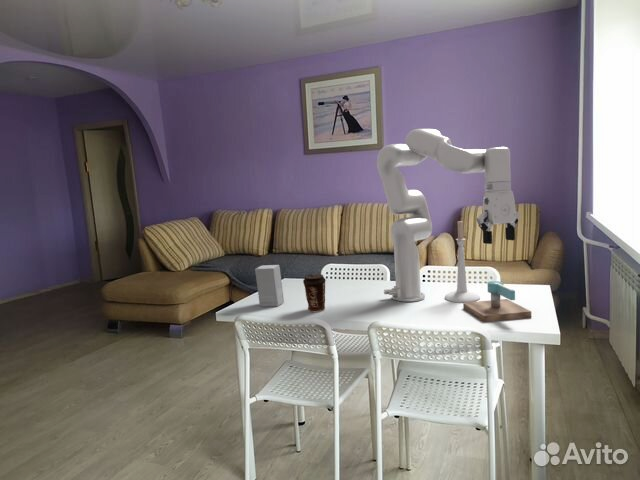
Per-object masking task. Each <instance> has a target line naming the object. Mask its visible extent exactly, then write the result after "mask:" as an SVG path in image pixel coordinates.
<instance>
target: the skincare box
mask: <svg viewBox="0 0 640 480" xmlns="http://www.w3.org/2000/svg"><path fill="white" fill-rule="evenodd" d="M280 266H281V265H280V264H269V265H266V264H265V265H260V266H257V267H256V268H255V269H254V274H255V278H256V286H257V287H256V288H257V294H258V301H259V307H279V306H281V305H282V304H283V303H284V302H285V298H284V291H283V290H284V289H283V283H282V275H281V268H280Z"/></svg>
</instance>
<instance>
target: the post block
mask: <svg viewBox="0 0 640 480" xmlns="http://www.w3.org/2000/svg"><path fill="white" fill-rule="evenodd" d="M462 304H463V306H462V307H463V310H466V312H468V313H470V314H471V315H473V316H474V317H476V318H477V319H479V320H480V321H482V322H484V323H487V322H496V321H497V322H499V321H507V320H508V321H509V320H517V319H518V320H519V319H529V318H530V319H531V318H532V311H531V310H529V308H525V307H523V306H522V305H519V304H517V303H515V302H514V301H513V300H509V299H507V298H505V299H503V298H502V299H501V295H499V294H495V293H490V300H482V301H481V300H478V301H475V302H468V303H462Z"/></svg>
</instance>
